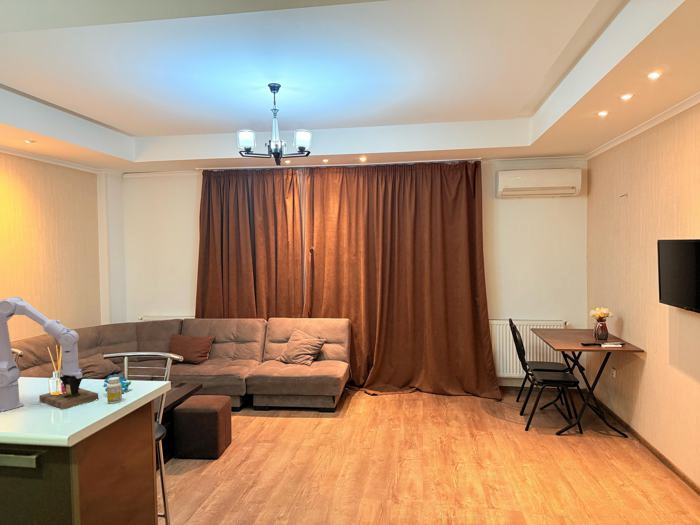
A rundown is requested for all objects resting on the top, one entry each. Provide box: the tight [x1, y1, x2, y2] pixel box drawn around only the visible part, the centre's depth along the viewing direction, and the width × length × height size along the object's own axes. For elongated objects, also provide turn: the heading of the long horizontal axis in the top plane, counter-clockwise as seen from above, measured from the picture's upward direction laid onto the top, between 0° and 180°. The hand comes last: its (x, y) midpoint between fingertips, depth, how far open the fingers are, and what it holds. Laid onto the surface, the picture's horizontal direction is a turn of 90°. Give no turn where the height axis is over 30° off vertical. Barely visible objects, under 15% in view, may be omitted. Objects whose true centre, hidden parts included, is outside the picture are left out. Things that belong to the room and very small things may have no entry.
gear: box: [102, 373, 132, 394], centre depth 208 cm, size 11×6×10 cm
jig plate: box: [38, 387, 99, 410], centre depth 199 cm, size 20×14×2 cm
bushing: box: [66, 383, 78, 398], centre depth 197 cm, size 4×4×6 cm
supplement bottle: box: [106, 376, 123, 404], centre depth 195 cm, size 5×5×10 cm
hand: (72, 393), depth 197 cm, fingers closed on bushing, 4 cm apart
